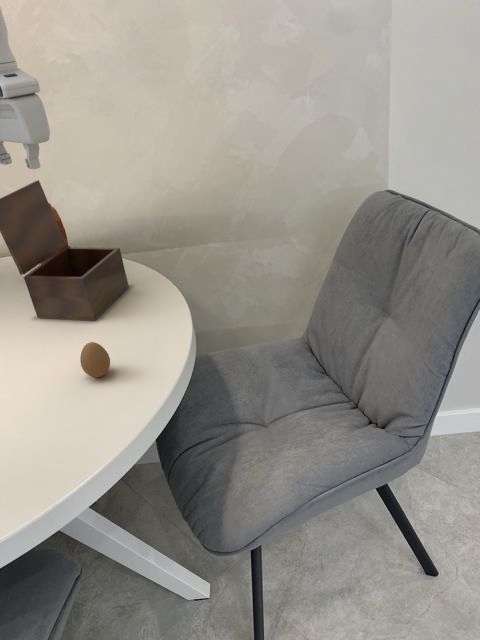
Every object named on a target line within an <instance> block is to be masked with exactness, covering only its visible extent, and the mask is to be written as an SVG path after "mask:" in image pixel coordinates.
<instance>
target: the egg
mask: <svg viewBox="0 0 480 640" xmlns="http://www.w3.org/2000/svg"><path fill="white" fill-rule="evenodd" d="M79 359H80V360H79V361H80V366H81V369H82V370H83V372H84V373H85V374H86V375H88V376H89V377H93V378H101V377H103V376H105V375H106V374H107V373H108V372H109V369H110V368H111V367H110V366H111V357H110V354H109V353H108V352H107V350H106V349H105V348H104V346H102V345H101V344H100V343H98V342H94V341H90V342H87V343H86V344H84V346H83V347H82V349H81V353H80V358H79Z"/></svg>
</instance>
